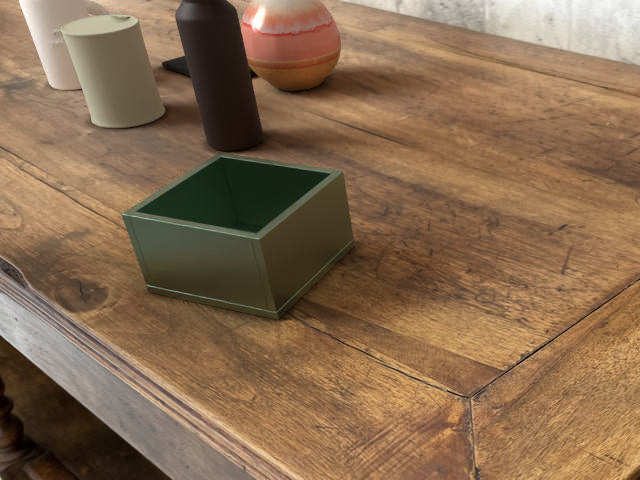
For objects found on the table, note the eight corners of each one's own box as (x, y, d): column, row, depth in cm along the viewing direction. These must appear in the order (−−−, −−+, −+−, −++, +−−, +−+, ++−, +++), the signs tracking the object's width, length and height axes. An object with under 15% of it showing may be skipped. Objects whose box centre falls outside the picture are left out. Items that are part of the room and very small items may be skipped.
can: (180, 111, 107) (153, 16, 100) (121, 133, 101) (89, 34, 94) (135, 99, 111) (107, 6, 104) (77, 120, 105) (42, 23, 98)
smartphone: (159, 67, 122) (220, 86, 114) (157, 61, 121) (219, 80, 114) (200, 55, 126) (261, 73, 119) (199, 49, 126) (260, 67, 118)
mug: (144, 73, 120) (118, -14, 112) (65, 94, 113) (32, 3, 105) (117, 62, 124) (91, -22, 117) (40, 81, 117) (7, -7, 110)
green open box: (148, 292, 72) (120, 214, 67) (237, 225, 82) (219, 152, 77) (278, 320, 68) (259, 239, 63) (355, 245, 78) (343, 170, 73)
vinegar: (226, 157, 95) (180, -28, 83) (197, 142, 99) (149, -37, 86) (275, 140, 99) (238, -38, 86) (245, 126, 103) (206, -47, 90)
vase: (365, 79, 117) (349, -57, 106) (297, 107, 108) (271, -37, 97) (299, 63, 123) (277, -67, 112) (229, 89, 114) (197, -49, 103)
